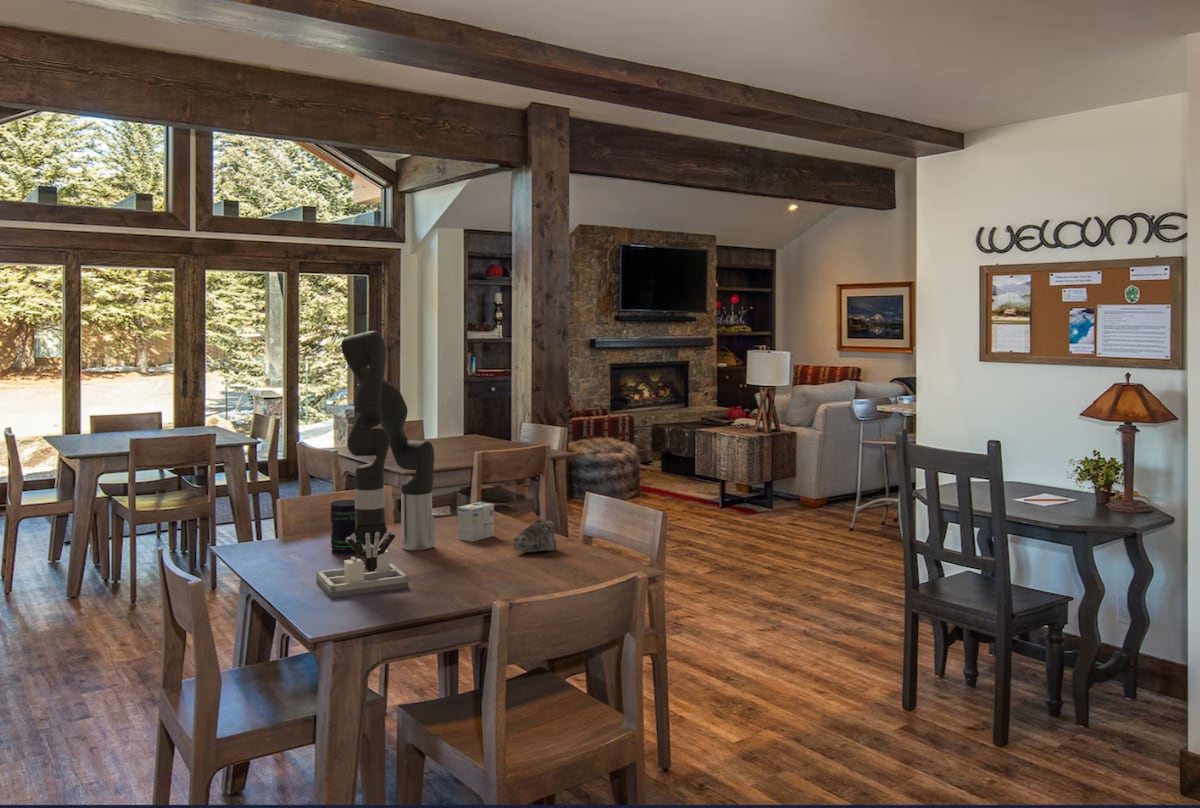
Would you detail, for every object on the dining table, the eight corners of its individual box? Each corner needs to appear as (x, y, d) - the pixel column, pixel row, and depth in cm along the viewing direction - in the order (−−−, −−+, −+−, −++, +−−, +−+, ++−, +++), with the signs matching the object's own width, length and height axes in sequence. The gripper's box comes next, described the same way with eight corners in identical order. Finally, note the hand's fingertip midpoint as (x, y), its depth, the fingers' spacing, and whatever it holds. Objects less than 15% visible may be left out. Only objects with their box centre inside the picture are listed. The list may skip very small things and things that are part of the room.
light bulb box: (479, 533, 306) (479, 501, 305) (495, 536, 302) (494, 503, 301) (456, 539, 298) (456, 506, 297) (472, 542, 294) (472, 508, 293)
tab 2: (384, 569, 253) (384, 545, 253) (389, 573, 250) (388, 548, 249) (370, 571, 251) (370, 547, 251) (374, 575, 248) (374, 550, 247)
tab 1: (359, 581, 242) (359, 555, 241) (364, 584, 239) (363, 558, 238) (344, 583, 240) (344, 557, 239) (348, 586, 237) (347, 560, 236)
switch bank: (390, 573, 256) (390, 562, 256) (408, 587, 242) (408, 576, 242) (316, 582, 246) (316, 571, 246) (330, 598, 233) (330, 586, 232)
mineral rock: (512, 555, 277) (512, 522, 276) (514, 547, 288) (514, 515, 287) (556, 555, 278) (556, 522, 277) (556, 547, 288) (556, 515, 287)
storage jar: (324, 553, 278) (323, 504, 277) (344, 546, 287) (344, 498, 286) (351, 556, 274) (350, 506, 273) (371, 549, 283) (370, 501, 282)
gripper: (390, 500, 246) (391, 564, 248) (340, 505, 240) (341, 571, 241) (399, 505, 240) (400, 571, 241) (348, 510, 233) (349, 577, 234)
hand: (370, 571), depth 241 cm, fingers closed
